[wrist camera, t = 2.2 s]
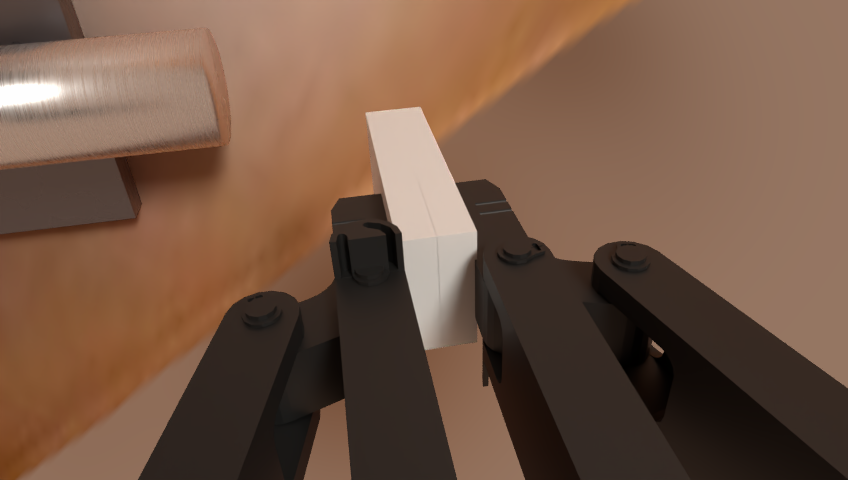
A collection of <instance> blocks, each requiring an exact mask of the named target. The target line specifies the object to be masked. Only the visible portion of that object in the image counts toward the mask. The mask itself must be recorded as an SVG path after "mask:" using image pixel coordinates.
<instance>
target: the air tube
mask: <svg viewBox="0 0 848 480" xmlns="http://www.w3.org/2000/svg"><path fill="white" fill-rule="evenodd" d="M230 138H231V115H230V105H229V98H228V91H227V85H226V80H225V75H224V70H223V66H222V62H221V58H220V55H219V52H218V48H217V45H216V43H215V40H214V38H213V36H212V34H211V32H210V30H209V29H208V28H196V29H185V30H174V31H162V32H151V33H140V34H128V35H117V36H105V37H94V38H83V39H71V40H60V41H49V42H37V43H26V44H14V45H3V46H0V170H6V169H15V168H24V167H33V166H42V165H52V164H61V163H70V162H79V161H88V160H97V159H106V158H116V157H125V156H134V155H143V154H152V153H161V152H171V151H180V150H189V149H198V148H207V147H216V146H225V145H228V144H229V142H230Z"/></svg>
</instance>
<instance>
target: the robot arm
mask: <svg viewBox="0 0 848 480" xmlns="http://www.w3.org/2000/svg"><path fill="white" fill-rule="evenodd" d="M366 122H367V132H368V141H369V151H370V161H371V170H372V180H373V189H374V194H373V195H365V196H357V197H348V198H340V199H339V200H338V201H337V203H336V204H335V206H334V207H333V209H332V210H331V215H332V227H333V234H332V235H331V238H330V241H329V244H330V251H331V257H332V263H333V270H334V276H335V279H334V281H333V282H332V284H331V285H330V286H329V287H328V288H327V289H326V290H325V291H323V292H322V293H320V294H319V295H317V296H314V297H312V298H310V299H308V300H305V301H302V302H299V303H298V302H297V300H296V299H295V298H294V297H292V296H291V295H289V294H287V293H284V292H276V291H268V292H259V293H256V294H253V295H250V296H247V297H244V298H243V299H241V300H240V301H238V302H236V303H235V304H233V305H232V307H231V308H230V309H229V310H228V311H227V313H226V314H225V316H224V318H223V320H222V321H221V323H220V325H219V327H218V329H217V331H216V333H215V335H214V337H213V338H212V340H211V342H210V344H209V346H208V348H207V350H206V352H205V354H204V356H203V358H202V359H201V361H200V363H199V365H198V367H197V369H196V371H195V373H194V375H193V377H192V378H191V380H190V382H189V384H188V386H187V388H186V390H185V392H184V393H183V395H182V397H181V399H180V401H179V403H178V405H177V407H176V409H175V411H174V413H173V414H172V417H171V418H170V420H169V422H168V424H167V426H166V428H165V430H164V431H163V433H162V435H161V437H160V439H159V441H158V443H157V445H156V447H155V449H154V451H153V453H152V454H151V456H150V458H149V460H148V462H147V464H146V466H145V468H144V469H143V471H142V473H141V476H140V477H139V479H138V480H303V479H304V475H305V471H306V467H307V464H308V461H309V457H310V453H311V449H312V446H313V442H314V438H315V434H316V431H317V427H318V424H319V420H320V409H321V408H323V407H326V406H328V405H331V404H333V403H335V402H338V401H340V400H342V399H344V398H345V407H346V419H347V431H348V444H349V455H350V467H351V480H457V477H456V473H455V469H454V465H453V461H452V457H451V453H450V449H449V445H448V442H447V437H446V433H445V429H444V425H443V422H442V417H441V413H440V409H439V405H438V401H437V397H436V393H435V389H434V385H433V381H432V377H431V373H430V369H429V365H428V361H427V357H426V353H425V350H428V349H435V348H442V347H448V346H455V345H461V344H468V343H475V342H477V324H478V326H479V329H480V332H481V335H482V337H483V375H482V378H483V386H488V377H490V380H491V383H492V386H493V389H494V392H495V394H496V397H497V400H498V403H499V406H500V409H501V412H502V415H503V417H504V420H505V423H506V426H507V429H508V432H509V435H510V437H511V440H512V443H513V446H514V449H515V451H516V454H517V457H518V460H519V463H520V466H521V469H522V471H523V474H524V477H525V480H848V388H846V387H845V386H844V385H842V384H841V383H840V382H838V381H837V380H835V379H834V378H833V377H831V376H830V375H828V374H827V373H826V372H824V371H823V370H822V369H820V368H819V367H817V366H816V365H815V364H813V363H812V362H810V361H809V360H808V359H806V358H805V357H803V356H802V355H801V354H799V353H798V352H797V351H795V350H794V349H793V348H791V347H790V346H788V345H787V344H786V343H784V342H783V341H781V340H780V339H779V338H777V337H776V336H775V335H773V334H772V333H770V332H769V331H768V330H766V329H765V328H763V327H762V326H761V325H759V324H758V323H757V322H755V321H754V320H752V319H751V318H750V317H748V316H747V315H745V314H744V313H743V312H741V311H740V310H738V309H737V308H736V307H734V306H733V305H732V304H730V303H729V302H727V301H726V300H725V299H723V298H722V297H721V296H719V295H718V294H716V293H715V292H714V291H712V290H711V289H710V288H708V287H707V286H705V285H704V284H703V283H701V282H700V281H699V280H697V279H696V278H694V277H693V276H691V275H690V274H689V273H687V272H686V271H685V270H683V269H682V268H680V267H679V266H678V265H676V264H675V263H674V262H672V261H671V260H670V259H668V258H667V257H665V256H664V255H663V254H661V253H660V252H658V251H657V250H655V249H653V248H651V247H649V246H647V245H643V244H639V243H636V242H629V241H628V242H626V241H619V242H613V243H608V244H605V245H604V246H602V247H600V248H598V250H597V251H596V252H595V254H594V259H593V262H579V261H568V260H561V259H557V258H555V257H554V256H553V254H552V252H551V251H550V249H549V248H548V247H547V246H546V245H545V244H544V243H542V242H540V241H538V240H536V239H533V238H529V237H528V236H527V235H526V233H525V231H524V230H523V228H522V226H521V224H520V222H519V221H518V219H517V217H516V216H515V214H514V212H513V211H512V210H511V207H510V205H509V204H508V202H506V198H505V197H504V195H503V193H502V192H501V190H500V188H498V187H497V186H495V185H494V184H492V183H490V182H489V181H487V180H486V179H484V180H476V181H468V182H459V183H455V182H454V180H453V178H452V175H451V173H450V171H449V169H448V167H447V164H446V163H445V160H444V158H443V156H442V154H441V151H440V149H439V147H438V145H437V143H436V140H435V138H434V136H433V134H432V132H431V129H430V127H429V125H428V123H427V121H426V119H425V116H424V114H423V112H422V110H421V108H420V107H414V108H405V109H395V110H386V111H376V112H367V113H366ZM652 340H653V341H654V342H655V343H656V344H657V345H659V346H660V347H661V348H662V349H663V350H664V353H663V354H662V353H661V352H659V351H658V350H657V349H655V348H654V347H653V346H652V345H651V344H652Z"/></svg>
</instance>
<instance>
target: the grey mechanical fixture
mask: <svg viewBox="0 0 848 480" xmlns="http://www.w3.org/2000/svg"><path fill="white" fill-rule="evenodd" d="M83 38H84V36H83V33H82V30H81V27H80V24H79V21H78V18H77V16H76V13H75V10H74V7H73V4H72V1H71V0H0V46H3V45H14V44H26V43H37V42H49V41H60V40H71V39H83ZM141 204H142V203H141V201H140V198H139V195H138V192H137V189H136V186H135V183H134V180H133V177H132V175H131V172H130V169H129V166H128V163H127V160H126V157H116V158H106V159H97V160H88V161H79V162H70V163H61V164H52V165H42V166H33V167H24V168H15V169H6V170H0V234H6V233H15V232H23V231H31V230H40V229H48V228H56V227H65V226H73V225H81V224H89V223H98V222H106V221H114V220H123V219H131V218H136V216H137V214H138V211H139V209H140V207H141Z"/></svg>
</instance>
